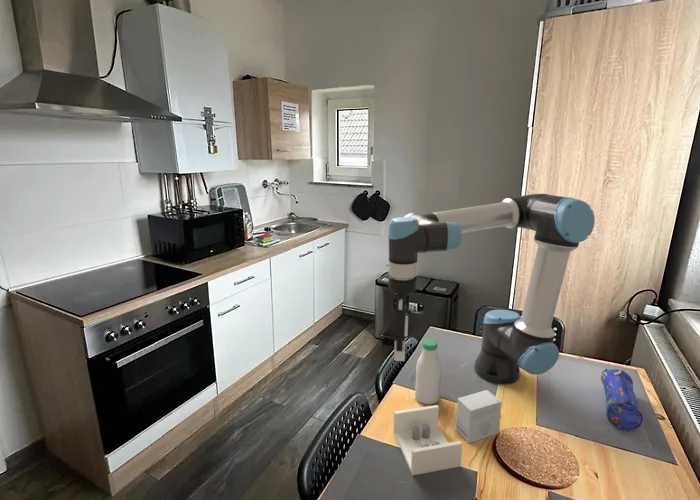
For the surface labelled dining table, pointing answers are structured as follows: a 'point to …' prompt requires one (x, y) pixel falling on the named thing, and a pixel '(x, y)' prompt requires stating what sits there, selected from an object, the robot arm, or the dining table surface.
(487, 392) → the skincare box
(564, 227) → the robot arm
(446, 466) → the peg frame
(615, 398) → the pencil case
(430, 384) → the milk bottle
